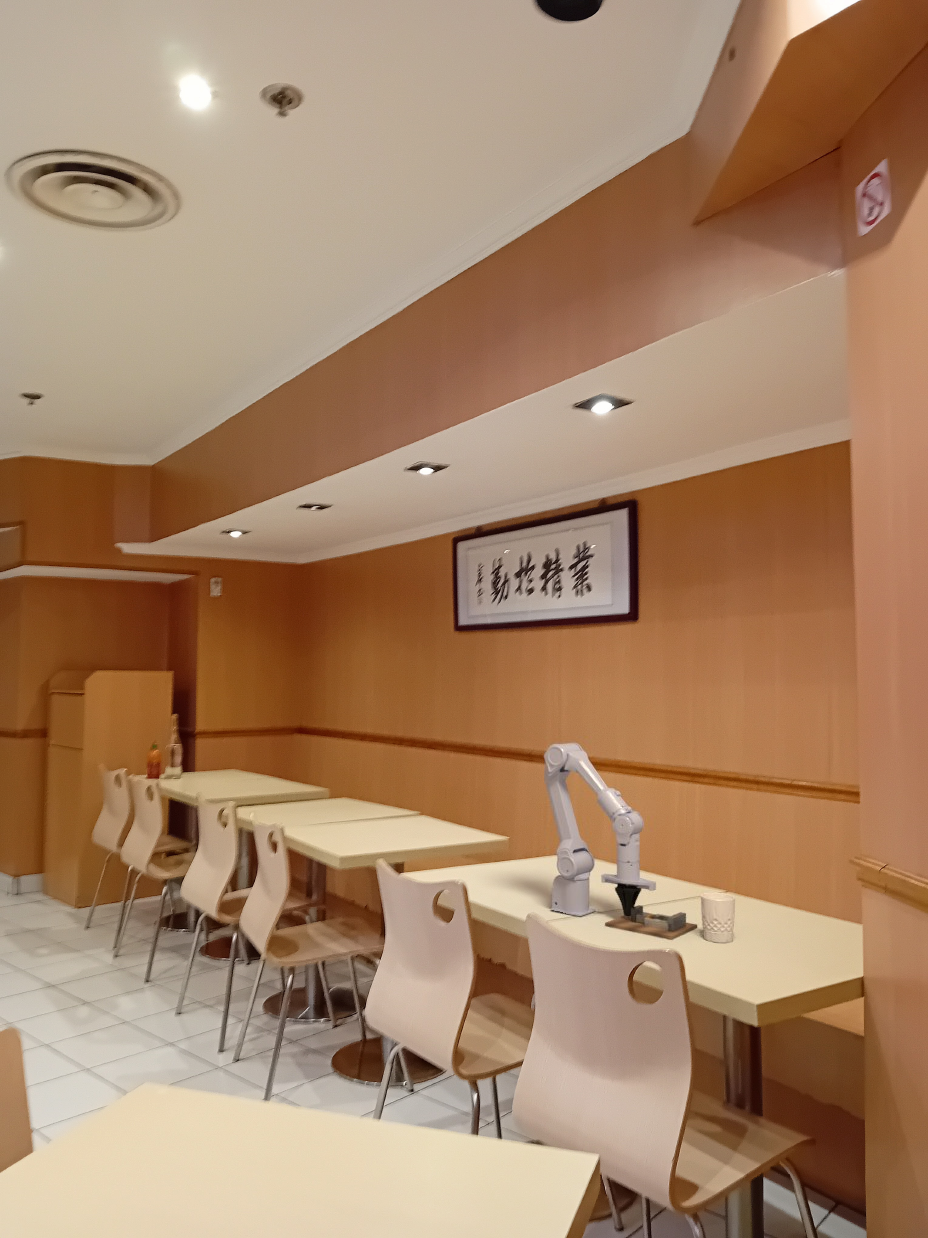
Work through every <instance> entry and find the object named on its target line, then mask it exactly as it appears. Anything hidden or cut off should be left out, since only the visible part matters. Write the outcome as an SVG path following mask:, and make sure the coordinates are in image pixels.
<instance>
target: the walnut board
mask: <svg viewBox="0 0 928 1238" xmlns="http://www.w3.org/2000/svg"><path fill="white" fill-rule="evenodd" d="M604 926H605V927H609V928H613V929H618V930H623V931H629V932H632V933H637V934H642V935H647V936H651V937H655V938H656V937H657V938H662V939H666V940H671V941H673V940H675V939H677V938H679V937H680V936H683V935H686V934H687V933H690V932H692V931H693V930H696V929H697V928H698V924H696V923H690V922H686V927H684V928H682V929H680V930H677V931H675V932H670V931H665V930H660V929H655V928H650V927H645V924H644V923H639V922H633V921H631V916H624V915H621V916H619V917H616V918H614V919H611V920H608V921H606V922H605V923H604Z"/></svg>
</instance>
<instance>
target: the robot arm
mask: <svg viewBox="0 0 928 1238" xmlns="http://www.w3.org/2000/svg"><path fill="white" fill-rule="evenodd" d="M543 758H544V762H545V766H544V772H543V779H544V784H545V787H546V791H547V795H548V798H549V803H550V806H551V807H550V808H551V811H552V815H553V819H554V823H555V827H556V830H557V835H558V840H559V845H558V847H557V849H556V857H557V861H556V868H557V871H558V873H559V875H556V876H555V877H554V878H553V881H552V886H551V908H550V909H551V910H556V911H560V912H563V913H562V914H565V913H566V914H567V915H571V916H577V917H583V916H586V915H588V914H591V913H594V912H596V910H597V909H596V908H592V907H590V877H591V872H592V871H593V870H594V869H595V858H594V855H593V854H592V852H590V850H589V846H588V843H587V842H585V841H584V840H583V839H582V838H581V835H580V831H579V828H578V823H577V819H576V816H575V812H574V809H573V808H574V807H573V804H572V801H571V797H570V792H569V788H568V785H567V779H568V777H569V775H570V774H571V772H573V773H577V774H578V775H579V776H580V777H581V778H582V780H583V781H584V782H585V783H586V785H588V787H590V788H591V790H592V791H593V792H594V793H595V794H596V796H597V797H596V803H597V804H598V806H600V808H601V810H602V811H603V812H604V813H605V815H606V816H607V817H608V818H609V820H610V822H612V825H611V826H612V831H613V832H614V834H615V837H616V839H615V840H616V874H610V873H603V874H601V877H600V880H601V883H603V884H611V885H617V886H616V887H614V891H615V893H616V894H617V896H618V898H619V899H618V900H619V901H620V904H621V908H622V912H623V916H631V908H633V907H635V906H636V903H637V900H638V898H639V896H640V893H641V892H642V889H644V890H648V891H650V892H653V891H655V890H657V882H656V881H652V880H648V879H645V878H641V876H640V875H641V874H640V873H641V871H640V869H641V866H640V861H641V860H640V859H641V858H640V857H641V856H640V855H641V851H640V850H641V849H640V847H641V846H640V845H641V844H640V843H641V840H640V839H641V836H640V834H641V832H643V829H644V826H645V824H644V819H643V817H642V815H641V814H640V812H638V811H636V810H632V807H631V806H629V805H628V804H627V803H626V802H625V800H624V799H623V798H622V796H621V795H622V794H621V792H620V791H619V790H616V789H615V788H613V787H608V786H607V784H606V782H604V780H603V779H602V777H601V775H600V774H599V772H597V770H596V768H595V767H594V765H593V764H592V762H591V761H590V760H589V756H588V754H587V752H586V751H585V750H583V748H582V746H581V745H580V744H579V743H576V742H569V743H568V742H567V743H553V744H551V745H550V746H549V747H548V748H547V749H546V751H545V753H544V755H543ZM551 910H550V911H551ZM560 912H559V913H560ZM566 914H565V915H566Z"/></svg>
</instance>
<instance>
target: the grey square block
mask: <svg viewBox="0 0 928 1238" xmlns="http://www.w3.org/2000/svg"><path fill="white" fill-rule="evenodd" d="M656 914H657V913H656ZM656 914H654V913H650V912H645V911H644V905H639V904H638V905H635V906H634V907H633V908H631V921H633V922H639V923H644V924H645V918H646V917H647V918H653V919H658V920H661V915H656Z"/></svg>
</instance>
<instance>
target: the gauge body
mask: <svg viewBox="0 0 928 1238" xmlns="http://www.w3.org/2000/svg"><path fill="white" fill-rule="evenodd" d="M656 915H661V920H658V919H653V918H647V917H646V918H645V927H650V928H655V929H660V930H665V931H670V932H675V931H677V930H680V929H682V928H684V927H686V923H687V913H686V912H682V911H681V912H677V913H675V914H673V915H666V914H661V913H656Z"/></svg>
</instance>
